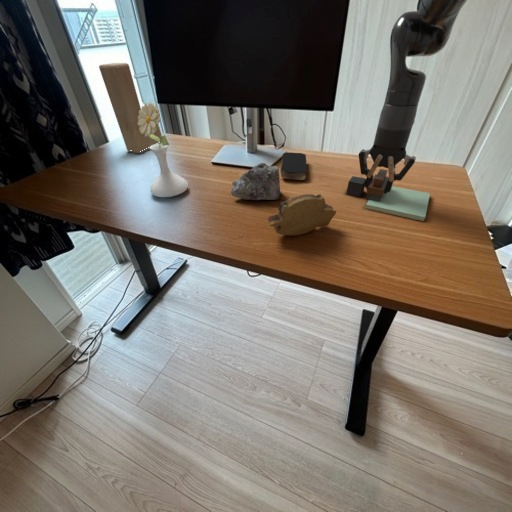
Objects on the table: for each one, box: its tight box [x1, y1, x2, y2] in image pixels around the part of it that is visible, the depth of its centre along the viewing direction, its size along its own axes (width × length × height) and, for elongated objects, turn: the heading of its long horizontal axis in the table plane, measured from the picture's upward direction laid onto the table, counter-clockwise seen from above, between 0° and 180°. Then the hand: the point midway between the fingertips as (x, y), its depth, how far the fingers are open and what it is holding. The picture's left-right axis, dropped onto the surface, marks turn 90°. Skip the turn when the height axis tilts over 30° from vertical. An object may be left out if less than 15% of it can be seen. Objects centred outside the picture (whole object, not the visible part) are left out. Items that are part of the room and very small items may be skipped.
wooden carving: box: [267, 193, 337, 237], centre depth 61 cm, size 16×5×10 cm, turn 112°
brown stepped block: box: [365, 168, 389, 202], centre depth 73 cm, size 9×4×6 cm, turn 150°
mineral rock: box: [230, 162, 282, 201], centre depth 76 cm, size 13×11×10 cm
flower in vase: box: [138, 101, 189, 198], centre depth 74 cm, size 13×11×25 cm
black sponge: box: [280, 152, 307, 181], centre depth 90 cm, size 16×8×4 cm, turn 173°
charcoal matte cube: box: [345, 175, 367, 198], centre depth 77 cm, size 4×4×4 cm
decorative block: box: [98, 62, 162, 154], centre depth 107 cm, size 15×8×30 cm, turn 157°
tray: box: [364, 185, 431, 222], centre depth 73 cm, size 14×14×1 cm
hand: (377, 190), depth 75 cm, fingers closed on brown stepped block, 4 cm apart
